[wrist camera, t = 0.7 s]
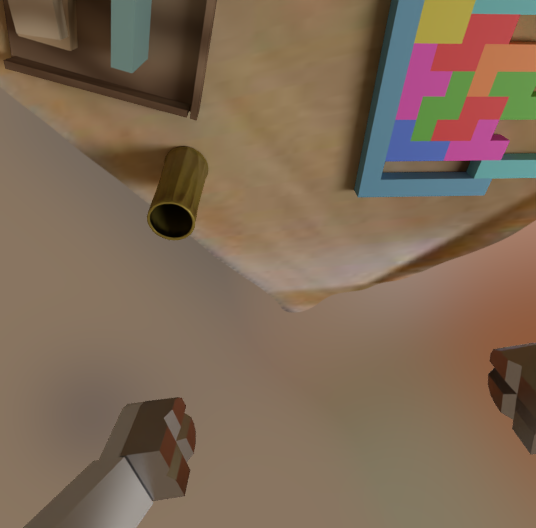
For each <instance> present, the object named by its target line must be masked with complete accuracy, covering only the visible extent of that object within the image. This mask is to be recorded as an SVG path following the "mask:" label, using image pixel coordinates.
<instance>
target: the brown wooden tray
mask: <svg viewBox="0 0 536 528" xmlns="http://www.w3.org/2000/svg"><path fill="white" fill-rule="evenodd" d="M3 2H4V9H5V15H6V22H7V29H8V35H9V42H10V49H11V55H12V57H11V58H8V59H6V60H4V64H5V68H6V69H9V70H13V71H17V72H20V73H24V74H28V75H31V76H35V77H39V78H43V79H46V80H50V81H54V82H57V83H61V84H65V85H68V86H72V87H76V88H79V89H83V90H87V91H91V92H94V93H98V94H102V95H105V96H109V97H113V98H116V99H120V100H124V101H127V102H131V103H135V104H138V105H142V106H146V107H150V108H153V109H157V110H161V111H164V112H168V113H172V114H175V115H179V116H183V117H186V118H187V115H188V112H189V111H190V112H191V114H190V119H194V120H197V117H198V114H199V109H200V103H201V97H202V90H203V84H204V78H205V72H206V65H207V59H208V53H209V46H210V40H211V34H212V28H213V21H214V15H215V9H216V2H217V0H152V4H151V19H150V35H149V50H148V59H147V60H146V61H145V62H144V63H143V64H142V65H141V66H140V67H139V68H138V69H137V70H135V71H134V72H133V73H129V72H126V71H122V70H119V69H115V68H112V67H111V0H76V19H77V41H78V48H76V49H74V50H72V51H68V50H65V49H61V48H58V47H55V46H51V45H48V44H44V43H41V42H37V41H34V40H31V39H27V38H24V37H20V36H18V34H17V33H16V29H15V26H14V22H13V18H12V14H11V11H10V7H9V3H8V0H3Z"/></svg>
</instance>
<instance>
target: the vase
mask: <svg viewBox="0 0 536 528" xmlns="http://www.w3.org/2000/svg"><path fill="white" fill-rule="evenodd" d="M207 174H208V164H207V162H206V160H205V158H204V157H203V155H202V154H201V153H200V152H198V151H197V150H195V149H193V148H190V147H177V148H175V149H173V150H171V151H170V152H169V153H168V154H167V156H166V158H165V162H164V167H163V170H162V174H161V178H160V181H159V184H158V186H157V190H156V192H155V195H154V198H153V200H152V203H151V206H150V209H149V211H148V215H147V221H148V224H149V226H150V228H151V229H152V231H153V232H155V234H157V235H158V236H160V237H162V238H165V239H168V240H180V239H184V238H186V237H188V236H189V235H190V234H191V233H192V232H193V230H194V228H195V221H196V217H197V210H198V205H199V202H200V197H201V194H202V190H203V187H204V183H205V179H206V177H207Z"/></svg>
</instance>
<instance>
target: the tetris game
mask: <svg viewBox="0 0 536 528" xmlns="http://www.w3.org/2000/svg"><path fill="white" fill-rule="evenodd" d="M520 15H536V0H391V5H390V10H389V15H388V20H387V25H386V30H385V35H384V40H383V45H382V50H381V56H380V61H379V66H378V71H377V76H376V81H375V86H374V91H373V96H372V101H371V107H370V112H369V117H368V122H367V127H366V132H365V137H364V142H363V147H362V152H361V157H360V163H359V168H358V173H357V178H356V183H355V188H354V190H355V192H356V194H357V196H358V197H404V196H471V195H485V193H486V191H487V188H488V186H489V184H490V182H491V180H492V178H536V153H521V154H504V152H505V150H506V148H507V146H508V144H509V142H510V140H508V139H507V138H505V137H503V136H502V135H493V133H494V131H495V129H496V126H497V124H498V122H499V120H523V119H536V92H533V91H534V88H535V86H536V42H518V41H510V40H511V37H512V35H513V32H514V30H515V27H516V25H517V22H518V20H519V17H520ZM466 160H471V161H470V164H469V166H468V169H467V171H466V172H394V173H382V172H383V168H384V164H385V161H466Z"/></svg>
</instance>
